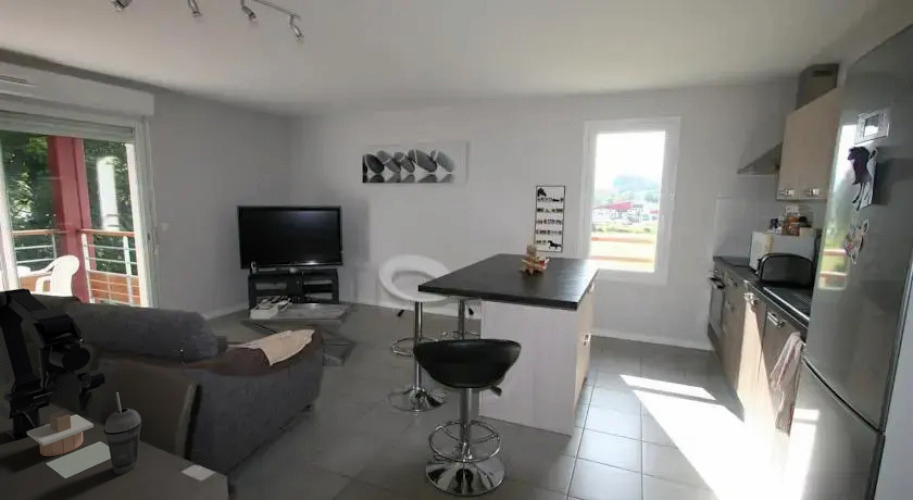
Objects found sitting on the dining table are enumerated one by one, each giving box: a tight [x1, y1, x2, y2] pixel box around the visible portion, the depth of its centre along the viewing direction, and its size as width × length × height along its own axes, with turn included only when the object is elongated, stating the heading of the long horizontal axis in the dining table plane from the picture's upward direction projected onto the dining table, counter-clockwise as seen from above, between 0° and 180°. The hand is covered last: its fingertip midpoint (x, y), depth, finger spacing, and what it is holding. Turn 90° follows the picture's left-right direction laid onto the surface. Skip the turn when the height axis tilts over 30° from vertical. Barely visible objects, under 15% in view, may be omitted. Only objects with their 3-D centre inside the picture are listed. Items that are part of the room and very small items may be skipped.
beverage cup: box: [103, 391, 143, 475], centre depth 99 cm, size 7×7×20 cm
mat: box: [45, 440, 111, 480], centre depth 103 cm, size 11×11×1 cm
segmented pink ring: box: [39, 431, 84, 457], centre depth 108 cm, size 8×8×5 cm
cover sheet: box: [27, 410, 94, 446], centre depth 107 cm, size 10×10×4 cm
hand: (60, 419), depth 107 cm, fingers open, 9 cm apart
